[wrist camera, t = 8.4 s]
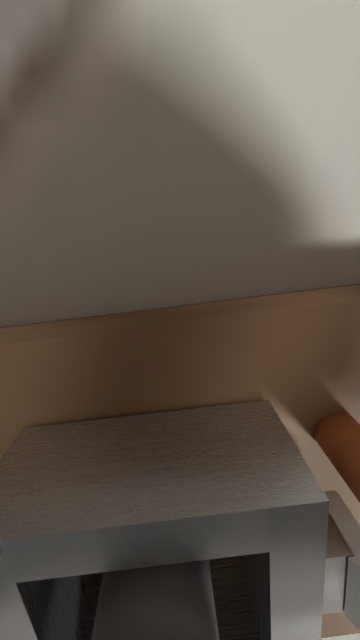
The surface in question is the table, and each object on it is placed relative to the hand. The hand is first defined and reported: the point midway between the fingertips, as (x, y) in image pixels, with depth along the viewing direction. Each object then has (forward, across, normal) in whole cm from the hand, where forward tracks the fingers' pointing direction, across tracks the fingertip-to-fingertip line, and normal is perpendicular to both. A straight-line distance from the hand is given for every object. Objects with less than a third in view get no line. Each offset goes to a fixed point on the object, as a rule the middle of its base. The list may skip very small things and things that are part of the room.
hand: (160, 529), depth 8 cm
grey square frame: (+1, 0, +2) cm, 2 cm away
